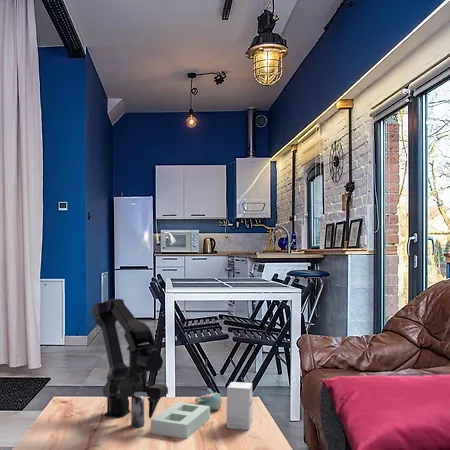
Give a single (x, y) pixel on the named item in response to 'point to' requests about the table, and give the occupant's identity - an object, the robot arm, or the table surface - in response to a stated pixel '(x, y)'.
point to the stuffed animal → (210, 400)
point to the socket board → (180, 420)
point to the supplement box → (239, 405)
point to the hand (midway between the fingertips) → (137, 416)
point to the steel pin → (137, 411)
